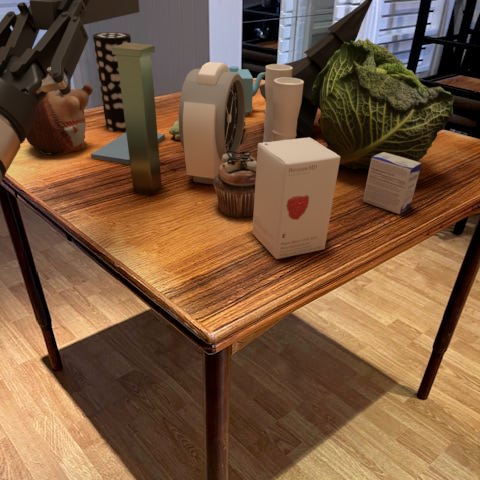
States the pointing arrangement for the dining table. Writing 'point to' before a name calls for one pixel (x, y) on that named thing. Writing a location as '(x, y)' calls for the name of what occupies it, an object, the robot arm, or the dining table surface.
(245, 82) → the teapot
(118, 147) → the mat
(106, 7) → the bar
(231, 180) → the cupcake
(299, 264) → the dining table surface
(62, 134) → the figurine
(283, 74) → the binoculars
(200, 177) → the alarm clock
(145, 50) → the olive green post
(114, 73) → the white-spotted black cylinder
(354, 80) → the cabbage
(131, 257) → the dining table surface
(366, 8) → the decorative tree
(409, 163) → the box
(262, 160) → the rectangular carton
